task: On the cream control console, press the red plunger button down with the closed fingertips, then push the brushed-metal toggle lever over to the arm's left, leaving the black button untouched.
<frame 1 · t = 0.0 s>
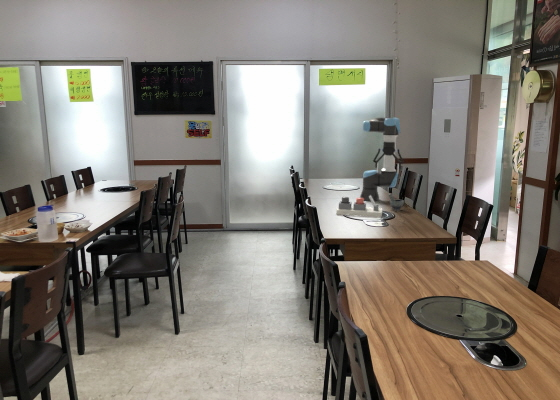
hand: (387, 173, 308), 28 cm above the table, fingers open, 13 cm apart
lever: (373, 202, 308), point 8 cm above the table, hinge at 30.0°
console: (359, 213, 312), on the table
button black: (345, 201, 313), point 8 cm above the table, slide at 0.0 cm
mortar and pestle: (395, 210, 325), on the table
button red: (359, 201, 311), point 8 cm above the table, slide at 0.0 cm
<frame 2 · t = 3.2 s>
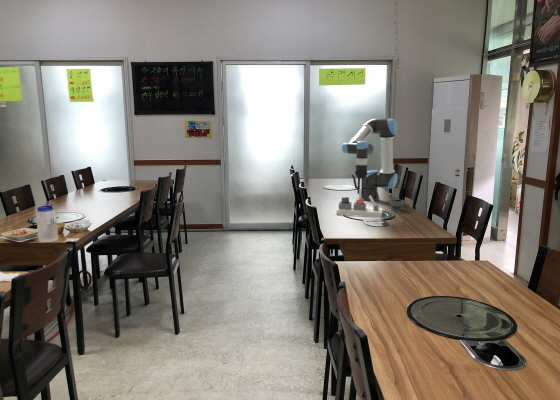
hand: (360, 198, 310), 10 cm above the table, fingers closed
button red: (359, 202, 311), point 7 cm above the table, slide at 0.6 cm, touching gripper
everything else where it was.
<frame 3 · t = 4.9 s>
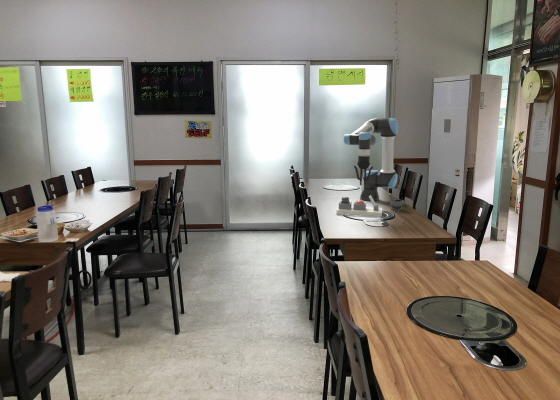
hand: (362, 190, 309), 16 cm above the table, fingers closed
button red: (359, 204, 311), point 6 cm above the table, slide at 1.9 cm
everything else where it was.
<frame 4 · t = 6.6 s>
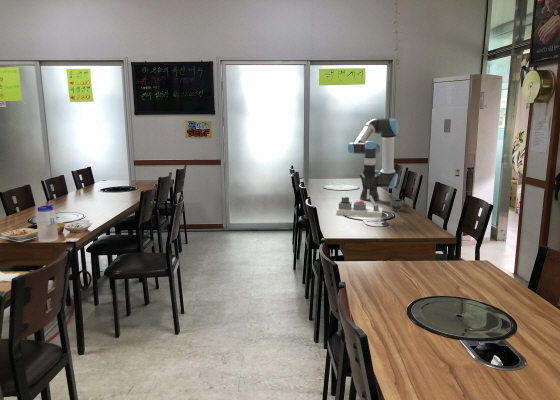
hand: (367, 198, 309), 10 cm above the table, fingers closed
lever: (373, 202, 308), point 8 cm above the table, hinge at 29.8°, touching gripper
everything else where it was.
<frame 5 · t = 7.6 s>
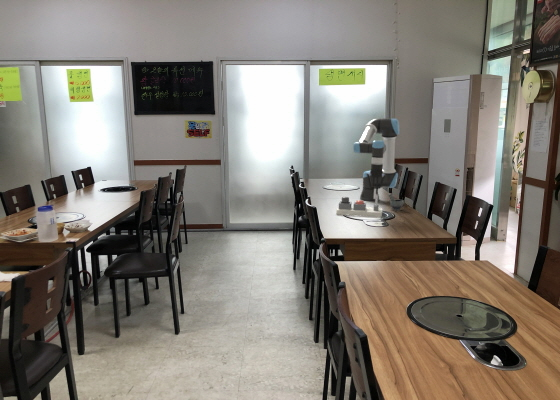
hand: (374, 198, 307), 11 cm above the table, fingers closed
lever: (376, 201, 308), point 9 cm above the table, hinge at 0.3°, touching gripper
everything else where it was.
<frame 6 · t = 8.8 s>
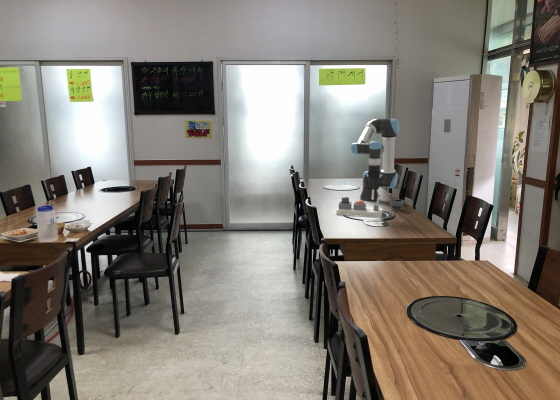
hand: (372, 199, 308), 10 cm above the table, fingers closed
lever: (377, 201, 308), point 9 cm above the table, hinge at -12.0°
everything else where it was.
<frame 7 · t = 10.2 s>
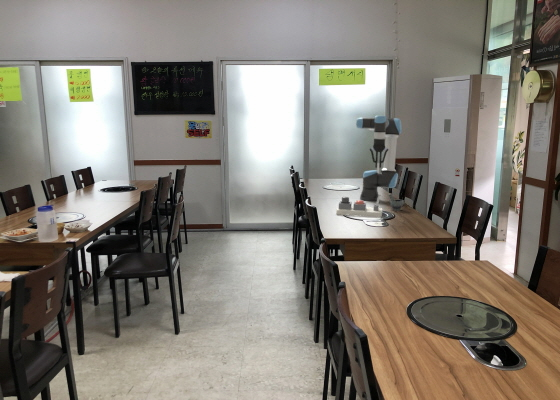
hand: (377, 172, 316), 27 cm above the table, fingers closed
nothing on the table moved.
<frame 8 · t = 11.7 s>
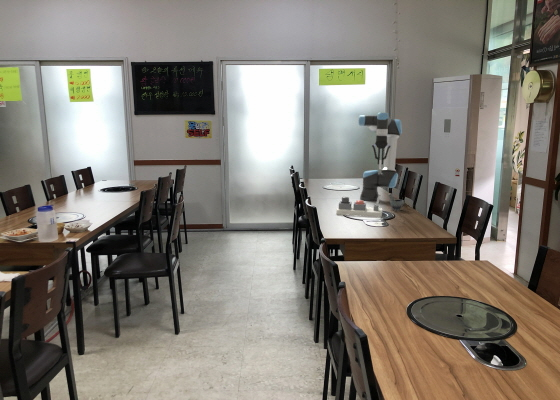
hand: (380, 169, 318), 29 cm above the table, fingers closed
nothing on the table moved.
at the end: button red slide at 1.9 cm; lever at -12° (first picture: +30°); button black slide at 0.0 cm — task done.
